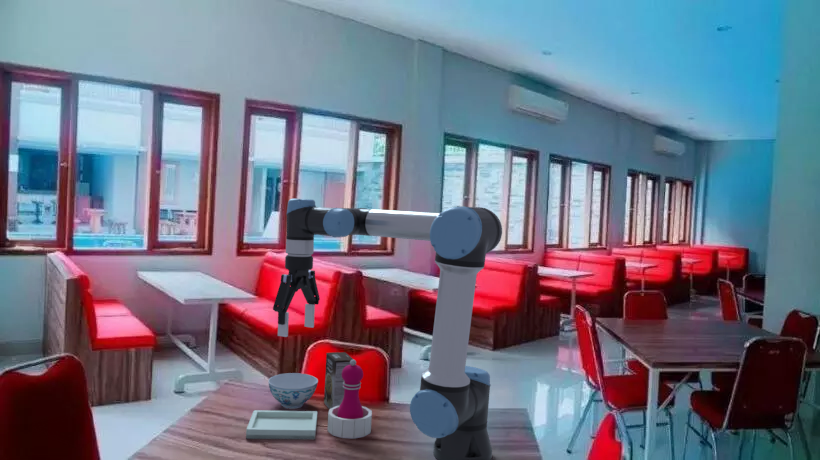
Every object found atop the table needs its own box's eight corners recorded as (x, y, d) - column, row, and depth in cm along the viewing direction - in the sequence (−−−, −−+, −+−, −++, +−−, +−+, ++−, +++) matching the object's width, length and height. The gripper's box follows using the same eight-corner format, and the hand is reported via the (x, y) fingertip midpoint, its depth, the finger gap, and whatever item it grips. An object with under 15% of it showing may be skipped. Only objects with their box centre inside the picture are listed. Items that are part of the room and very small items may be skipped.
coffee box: (323, 403, 189) (325, 352, 188) (342, 401, 192) (345, 351, 191) (331, 413, 181) (334, 360, 180) (352, 411, 184) (354, 359, 183)
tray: (316, 419, 175) (317, 411, 175) (314, 439, 161) (315, 430, 161) (253, 418, 173) (253, 410, 173) (245, 438, 159) (246, 429, 159)
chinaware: (297, 393, 197) (298, 370, 196) (326, 406, 186) (327, 382, 186) (257, 403, 186) (258, 378, 185) (286, 417, 175) (287, 391, 175)
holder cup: (378, 428, 172) (379, 410, 172) (355, 441, 161) (356, 423, 161) (344, 418, 177) (344, 401, 177) (319, 431, 167) (320, 413, 167)
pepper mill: (358, 436, 165) (362, 364, 164) (332, 432, 167) (336, 361, 165) (365, 426, 172) (369, 357, 171) (341, 423, 174) (344, 354, 172)
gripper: (310, 251, 179) (307, 321, 180) (261, 257, 155) (258, 338, 156) (333, 253, 176) (330, 325, 177) (286, 259, 153) (282, 342, 154)
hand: (296, 331), depth 167 cm, fingers open, 13 cm apart
